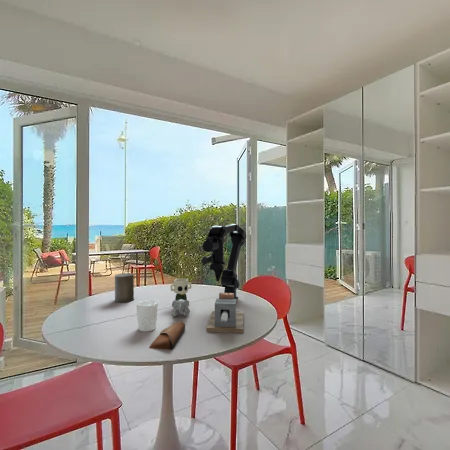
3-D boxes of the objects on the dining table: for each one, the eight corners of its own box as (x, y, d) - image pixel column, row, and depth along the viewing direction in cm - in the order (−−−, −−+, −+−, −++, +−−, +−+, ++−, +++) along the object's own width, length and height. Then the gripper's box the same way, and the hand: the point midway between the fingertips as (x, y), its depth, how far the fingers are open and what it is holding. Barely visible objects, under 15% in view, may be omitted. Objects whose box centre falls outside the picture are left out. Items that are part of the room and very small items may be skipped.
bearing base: (212, 314, 128) (212, 291, 128) (243, 314, 127) (243, 291, 127) (206, 331, 107) (206, 304, 107) (243, 332, 106) (243, 305, 106)
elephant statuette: (187, 312, 132) (187, 295, 132) (196, 318, 121) (195, 300, 121) (168, 315, 128) (168, 298, 128) (175, 321, 117) (174, 303, 117)
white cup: (146, 333, 104) (146, 307, 104) (132, 329, 109) (132, 303, 109) (161, 327, 111) (161, 302, 111) (147, 323, 115) (147, 299, 115)
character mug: (172, 309, 135) (172, 282, 135) (168, 305, 141) (168, 279, 141) (193, 306, 140) (193, 280, 140) (188, 302, 146) (188, 277, 146)
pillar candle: (137, 299, 152) (137, 271, 152) (122, 303, 144) (122, 274, 144) (126, 297, 157) (125, 270, 157) (110, 300, 149) (110, 272, 149)
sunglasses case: (164, 328, 110) (172, 314, 110) (179, 338, 109) (187, 323, 109) (147, 348, 92) (157, 331, 92) (165, 360, 91) (175, 343, 91)
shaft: (219, 316, 118) (219, 292, 118) (233, 316, 118) (233, 293, 118) (215, 331, 101) (215, 304, 101) (232, 332, 101) (232, 304, 101)
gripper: (204, 248, 152) (204, 277, 152) (199, 252, 133) (199, 284, 133) (225, 249, 151) (224, 277, 151) (222, 252, 133) (222, 285, 133)
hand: (217, 281), depth 142 cm, fingers closed
